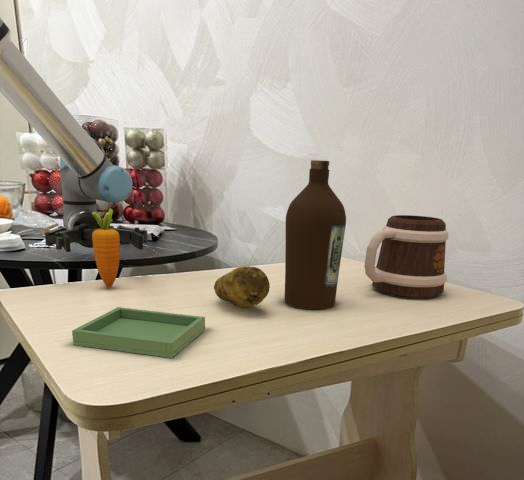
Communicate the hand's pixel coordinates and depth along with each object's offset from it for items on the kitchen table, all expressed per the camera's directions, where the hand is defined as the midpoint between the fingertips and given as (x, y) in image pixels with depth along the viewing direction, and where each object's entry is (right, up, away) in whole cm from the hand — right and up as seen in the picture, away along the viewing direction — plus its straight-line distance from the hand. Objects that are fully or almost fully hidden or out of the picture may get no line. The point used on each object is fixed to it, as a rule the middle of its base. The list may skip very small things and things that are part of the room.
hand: (105, 243), depth 100 cm
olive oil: (+39, -12, -3) cm, 41 cm away
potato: (+26, -13, -8) cm, 30 cm away
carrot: (0, -9, +2) cm, 9 cm away
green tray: (+13, -19, -24) cm, 33 cm away
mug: (+58, -9, +8) cm, 60 cm away
